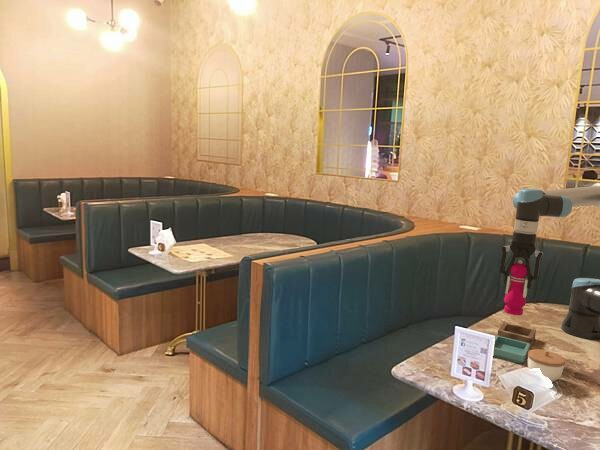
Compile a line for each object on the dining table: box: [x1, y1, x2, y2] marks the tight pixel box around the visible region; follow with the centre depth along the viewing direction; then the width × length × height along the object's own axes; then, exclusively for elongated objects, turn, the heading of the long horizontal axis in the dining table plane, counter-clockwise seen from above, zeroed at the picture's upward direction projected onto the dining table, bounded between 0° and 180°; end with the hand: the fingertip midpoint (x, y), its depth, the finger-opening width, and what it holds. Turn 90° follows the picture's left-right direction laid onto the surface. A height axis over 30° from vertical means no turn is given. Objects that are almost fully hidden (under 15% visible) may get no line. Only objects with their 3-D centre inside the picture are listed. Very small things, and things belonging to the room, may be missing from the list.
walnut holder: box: [497, 321, 537, 350], centre depth 184 cm, size 12×12×4 cm
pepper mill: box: [503, 258, 527, 316], centre depth 170 cm, size 7×7×20 cm
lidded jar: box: [527, 348, 566, 383], centre depth 152 cm, size 11×11×9 cm
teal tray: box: [493, 334, 531, 365], centre depth 171 cm, size 12×14×3 cm
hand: (515, 294), depth 170 cm, fingers closed on pepper mill, 5 cm apart
